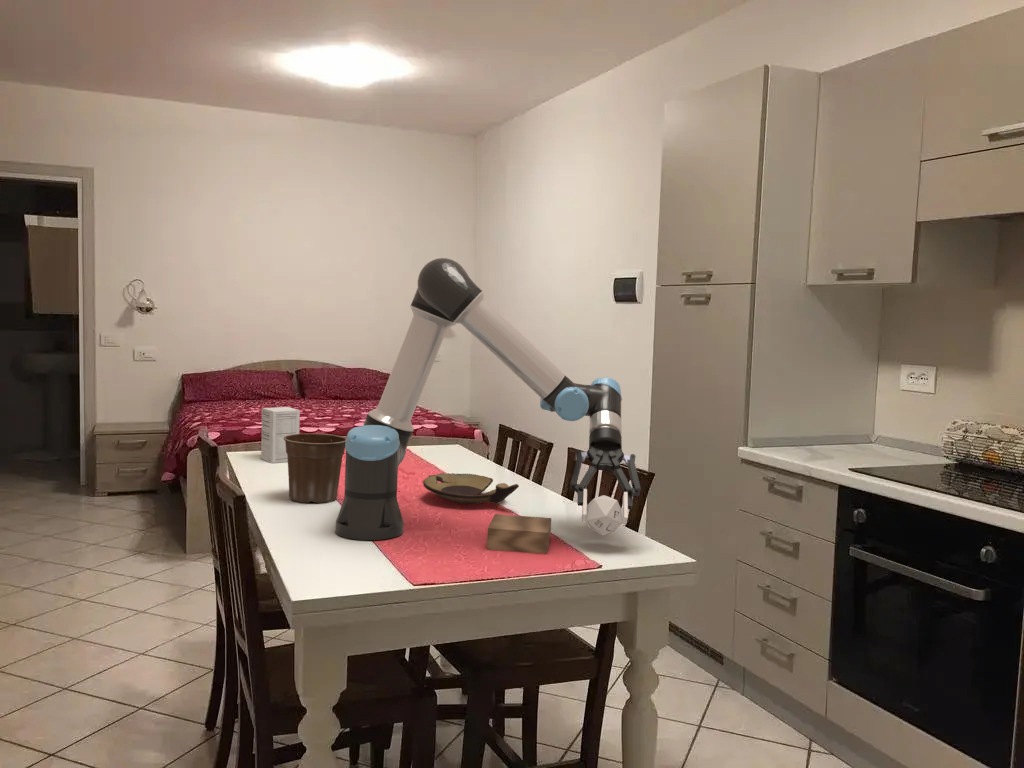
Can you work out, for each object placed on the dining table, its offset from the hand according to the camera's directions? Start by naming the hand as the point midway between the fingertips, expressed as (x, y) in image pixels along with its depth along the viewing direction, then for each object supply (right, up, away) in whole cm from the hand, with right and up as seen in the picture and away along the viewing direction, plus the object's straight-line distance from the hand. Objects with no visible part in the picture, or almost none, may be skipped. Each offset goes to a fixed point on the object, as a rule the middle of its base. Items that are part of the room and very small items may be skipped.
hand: (604, 519), depth 177 cm
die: (0, -4, +4) cm, 5 cm away
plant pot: (-72, -1, +38) cm, 81 cm away
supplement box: (-96, +4, +90) cm, 131 cm away
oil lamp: (-32, -3, +42) cm, 53 cm away
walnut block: (-18, -7, +5) cm, 20 cm away
